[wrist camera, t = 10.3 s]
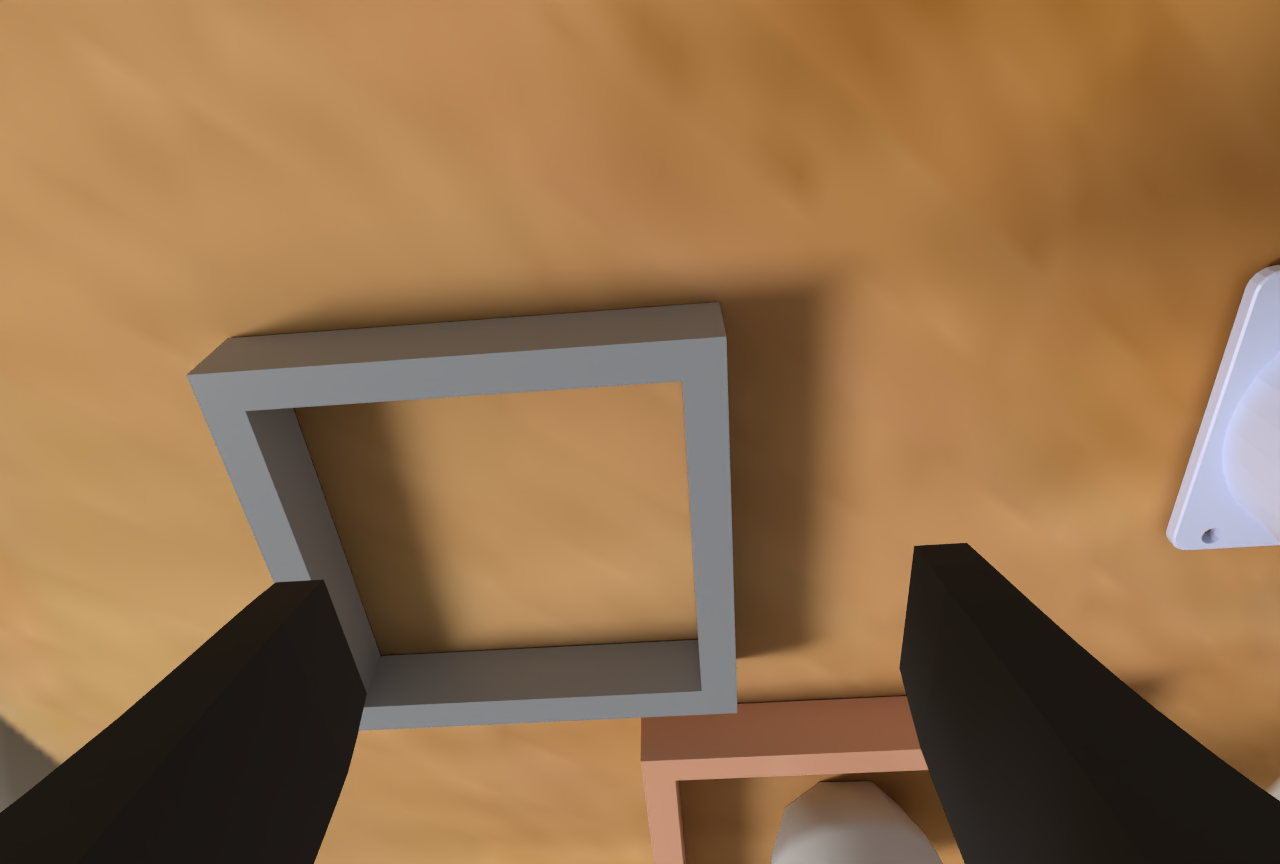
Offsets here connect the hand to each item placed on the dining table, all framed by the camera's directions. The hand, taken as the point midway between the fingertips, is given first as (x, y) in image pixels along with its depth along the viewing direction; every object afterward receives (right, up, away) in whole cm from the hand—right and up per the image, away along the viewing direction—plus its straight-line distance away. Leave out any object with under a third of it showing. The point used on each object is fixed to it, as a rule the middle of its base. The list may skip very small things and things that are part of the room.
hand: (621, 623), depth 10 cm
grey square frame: (-3, 0, +12) cm, 13 cm away
